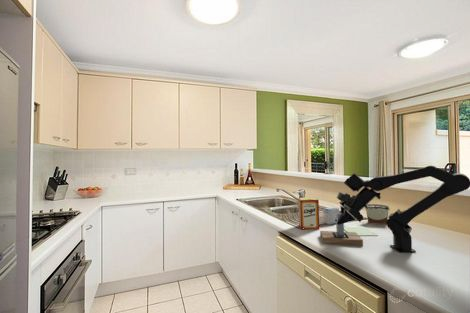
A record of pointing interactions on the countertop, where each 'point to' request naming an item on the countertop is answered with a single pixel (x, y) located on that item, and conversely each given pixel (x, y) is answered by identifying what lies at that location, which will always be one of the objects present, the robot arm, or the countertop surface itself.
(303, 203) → the baking soda box
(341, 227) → the lever cap
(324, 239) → the brown rectangular frame
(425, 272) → the countertop surface
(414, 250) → the robot arm
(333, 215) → the medicine box
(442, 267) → the countertop surface
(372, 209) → the food container
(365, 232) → the sage mat
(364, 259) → the countertop surface
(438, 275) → the countertop surface
